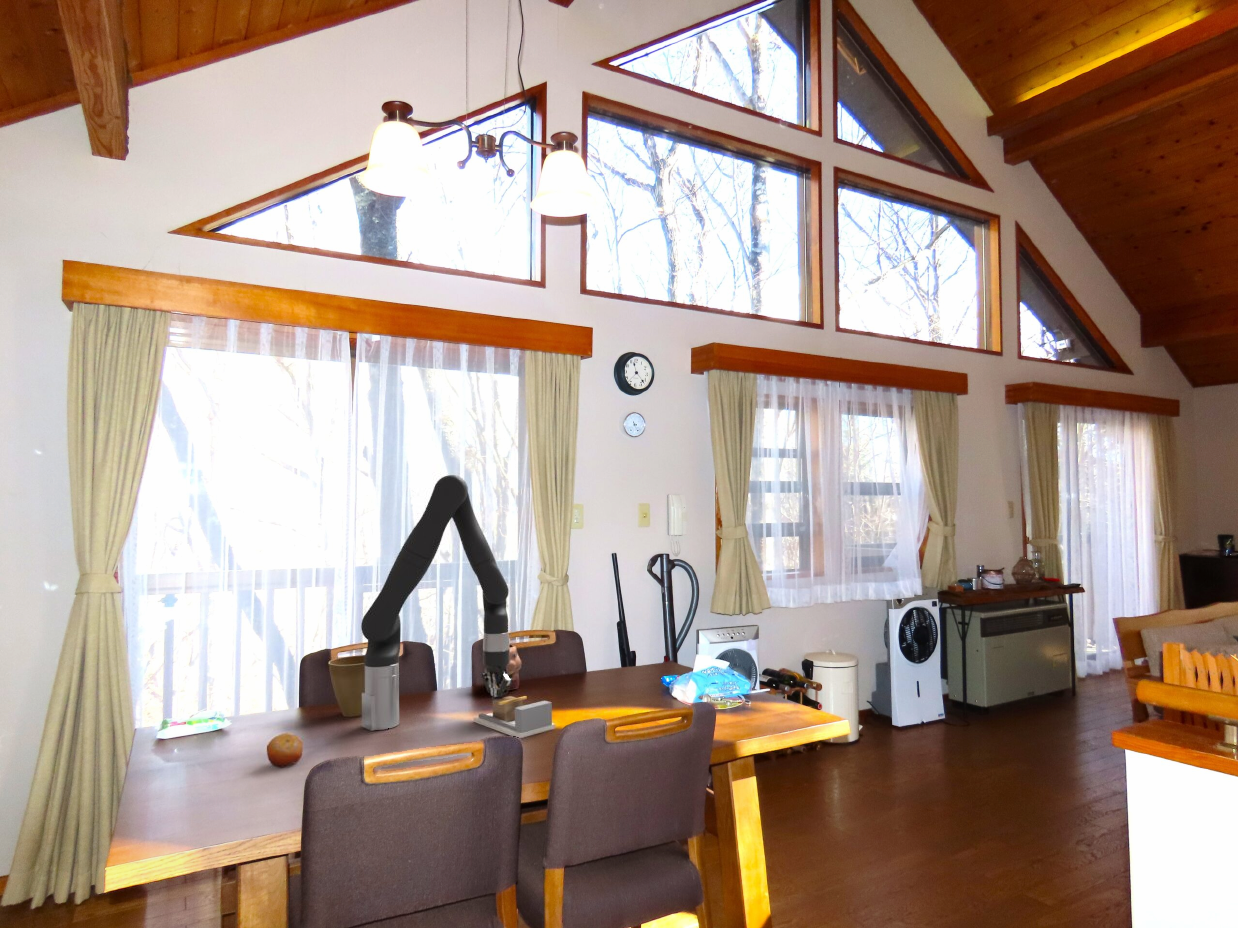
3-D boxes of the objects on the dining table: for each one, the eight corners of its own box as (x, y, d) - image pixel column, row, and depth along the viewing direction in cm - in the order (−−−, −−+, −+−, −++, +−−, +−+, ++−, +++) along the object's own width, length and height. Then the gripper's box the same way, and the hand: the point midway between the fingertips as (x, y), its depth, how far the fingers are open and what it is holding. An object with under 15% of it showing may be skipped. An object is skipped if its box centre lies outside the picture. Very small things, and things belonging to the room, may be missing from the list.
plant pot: (389, 706, 234) (388, 654, 235) (368, 720, 219) (368, 664, 220) (342, 706, 235) (342, 654, 236) (319, 720, 221) (319, 664, 221)
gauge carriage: (500, 723, 209) (499, 702, 209) (488, 719, 213) (488, 698, 213) (527, 716, 215) (526, 696, 215) (514, 712, 219) (514, 692, 219)
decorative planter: (472, 684, 260) (471, 643, 260) (504, 679, 267) (503, 639, 268) (498, 696, 244) (498, 652, 244) (532, 690, 251) (531, 647, 251)
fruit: (288, 749, 190) (296, 724, 188) (302, 771, 186) (310, 746, 184) (256, 758, 184) (264, 732, 182) (269, 781, 180) (278, 755, 177)
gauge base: (518, 738, 200) (518, 710, 200) (473, 721, 216) (473, 695, 216) (554, 728, 208) (554, 701, 208) (509, 712, 224) (508, 688, 224)
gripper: (472, 646, 221) (473, 707, 220) (498, 652, 212) (499, 715, 211) (494, 643, 226) (495, 702, 226) (520, 648, 217) (521, 710, 216)
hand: (497, 708), depth 218 cm, fingers closed
